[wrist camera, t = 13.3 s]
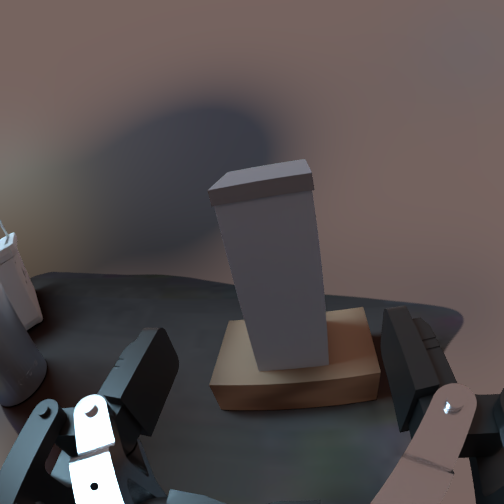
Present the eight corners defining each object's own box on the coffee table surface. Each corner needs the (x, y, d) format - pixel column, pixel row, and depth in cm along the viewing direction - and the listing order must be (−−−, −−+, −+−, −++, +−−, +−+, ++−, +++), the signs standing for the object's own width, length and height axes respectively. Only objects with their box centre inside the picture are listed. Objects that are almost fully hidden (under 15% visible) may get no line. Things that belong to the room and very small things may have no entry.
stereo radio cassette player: (9, 304, 44) (-27, 216, 36) (38, 287, 50) (4, 199, 41) (10, 345, 30) (-47, 222, 22) (49, 321, 35) (-3, 197, 27)
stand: (221, 409, 19) (209, 385, 18) (237, 346, 25) (229, 320, 24) (376, 399, 17) (380, 372, 16) (362, 334, 23) (362, 306, 22)
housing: (257, 372, 18) (207, 190, 13) (263, 326, 22) (227, 172, 18) (330, 365, 17) (311, 172, 12) (324, 320, 22) (305, 159, 17)
